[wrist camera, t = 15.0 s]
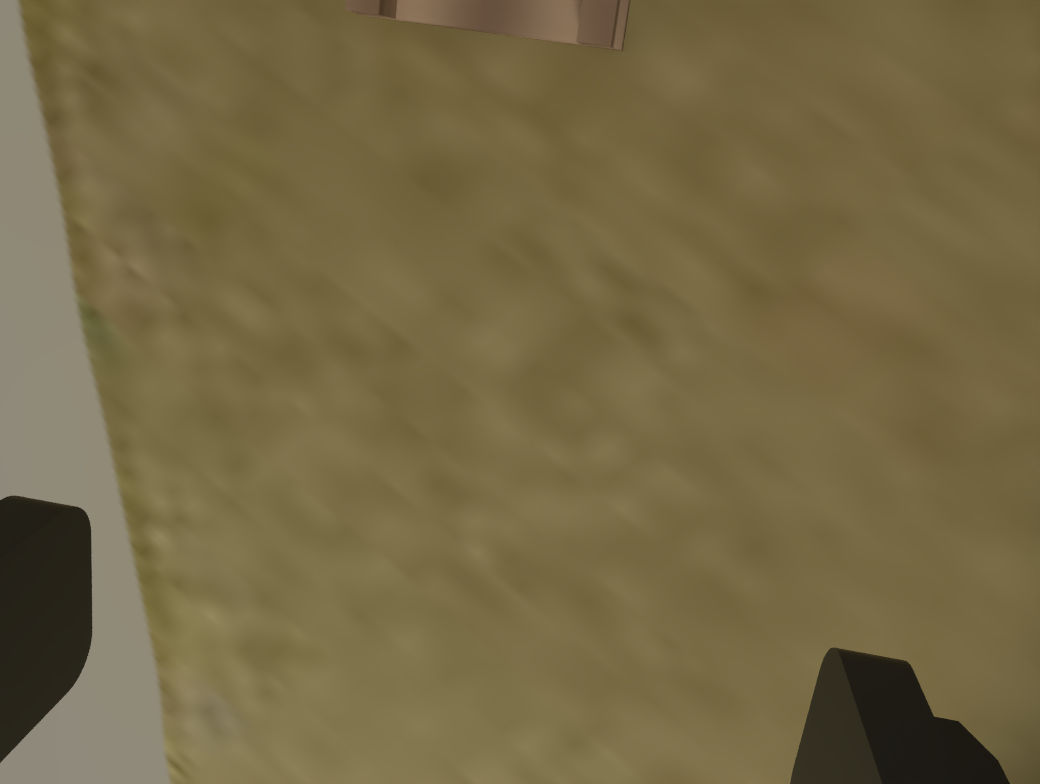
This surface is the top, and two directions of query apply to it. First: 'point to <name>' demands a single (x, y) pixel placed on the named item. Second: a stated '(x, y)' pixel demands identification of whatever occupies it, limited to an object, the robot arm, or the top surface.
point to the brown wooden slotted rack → (514, 17)
